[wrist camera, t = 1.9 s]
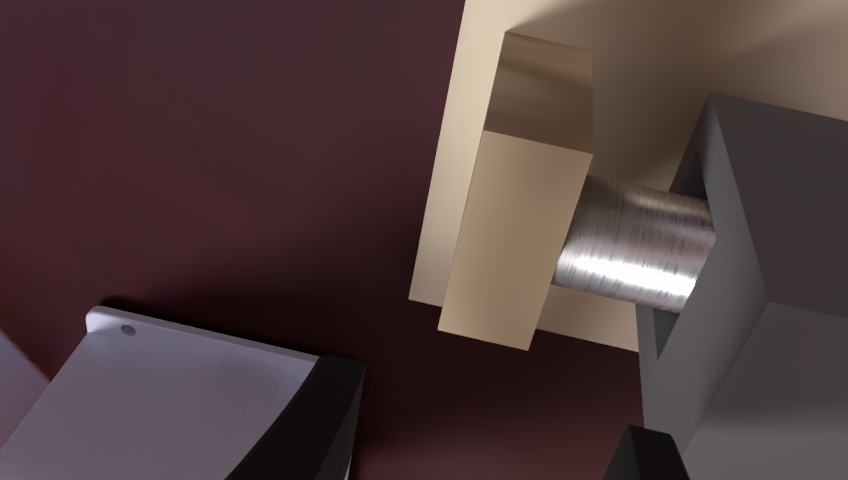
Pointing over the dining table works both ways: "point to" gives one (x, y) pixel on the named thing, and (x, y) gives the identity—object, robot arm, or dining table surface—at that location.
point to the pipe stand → (590, 136)
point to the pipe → (635, 244)
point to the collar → (758, 301)
